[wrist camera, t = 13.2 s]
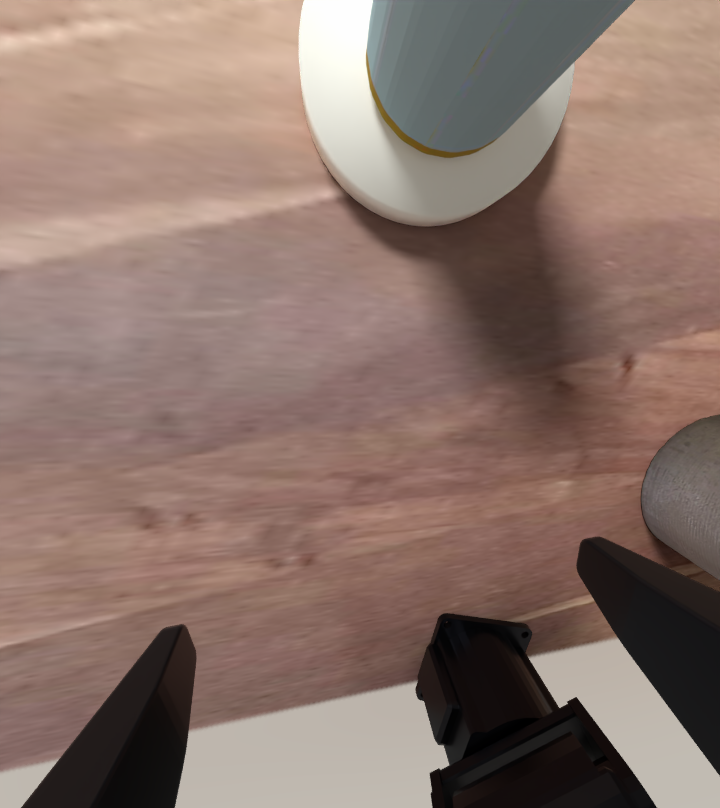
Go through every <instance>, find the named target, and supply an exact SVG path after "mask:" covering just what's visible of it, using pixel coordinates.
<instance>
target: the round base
mask: <svg viewBox="0 0 720 808" xmlns="http://www.w3.org/2000/svg"><path fill="white" fill-rule="evenodd" d="M372 3H373V0H304V3H303V7H302V12H301V20H300V29H299V65H300V78H301V90H302V99H303V107H304V111H305V116H306V120H307V125H308V128H309V131H310V133H311V136H312V139H313V142H314V144H315V146H316V148H317V151H318V153H319V155H320V157H321V159H322V161H323V162H324V164H325V165H326V167H327V168H328V170H329V172H330V173H331V175H332V176H333V177H334V178H335V180H336V181H337V182H338V183H339V184H340V186H341V187H342V188H343V189H344V190H345V191H346V192H347V193H348V194H349V195H350V196H351V197H352V198H353V199H355V200H356V201H357V202H359V203H360V204H361V205H363V206H364V207H365V208H367V209H368V210H370V211H372V212H374V213H376V214H378V215H379V216H381V217H384V218H386V219H389V220H392V221H394V222H398V223H402V224H407V225H411V226H424V227H428V226H442V225H446V224H451V223H455V222H458V221H461V220H464V219H466V218H469V217H471V216H473V215H475V214H477V213H479V212H481V211H482V210H484V209H486V208H487V207H489V206H490V205H491V204H493V203H494V202H496V201H497V200H499V199H500V198H502V197H503V196H505V195H506V194H507V193H509V192H510V191H511V190H513V189H514V188H516V187H517V186H518V185H519V184H520V183H521V182H522V181H523V180H524V179H525V178H526V177H527V176H528V175H529V174H530V173H531V172H532V171H533V170H534V168H535V167H536V166H537V165H538V164H539V162H540V161H541V160H542V158H543V157H544V155H545V154H546V152H547V150H548V149H549V147H550V146H551V144H552V142H553V140H554V138H555V136H556V134H557V132H558V130H559V128H560V125H561V123H562V120H563V117H564V114H565V112H566V109H567V105H568V101H569V97H570V93H571V89H572V82H573V75H574V64H575V62H574V63H573V64H572V65H571V66H570V67H569V68H568V69H567V70H566V71H565V72H564V73H563V74H562V75H561V76H560V77H559V78H558V79H557V80H556V81H555V82H554V83H553V84H552V85H551V86H550V87H549V88H548V89H547V90H546V91H545V92H544V93H543V94H542V95H541V96H540V97H539V98H538V99H537V100H536V101H535V102H534V103H533V104H532V105H531V106H530V107H529V108H528V110H527V111H526V112H525V113H524V114H523V115H522V116H521V117H520V118H519V119H518V120H517V121H516V122H515V123H514V124H513V125H512V126H511V127H510V128H509V129H508V130H507V131H506V132H505V133H504V134H502V135H501V136H500V137H499V138H498V139H497V140H495V141H494V142H493V143H492V144H490V145H488V146H486V147H485V148H483V149H481V150H479V151H478V152H476V153H473V154H470V155H465V156H460V157H454V158H444V157H438V156H433V155H428V154H425V153H422V152H420V151H419V150H417V149H415V148H414V147H412V146H410V145H408V144H407V143H405V142H404V141H403V140H401V139H400V138H399V137H398V136H397V135H396V134H395V132H394V131H393V130H392V129H391V128H390V127H389V125H388V124H387V123H386V122H385V120H384V119H383V117H382V116H381V114H380V112H379V109H378V107H377V105H376V103H375V101H374V98H373V96H372V93H371V90H370V86H369V80H368V74H367V67H366V49H367V40H368V31H369V21H370V15H371V9H372Z"/></svg>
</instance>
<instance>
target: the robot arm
mask: <svg viewBox="0 0 720 808" xmlns="http://www.w3.org/2000/svg"><path fill="white" fill-rule="evenodd" d="M576 566H577V571H578V574H579V576H580V578H581V579H582V581H583V582H584V584H585V586H586V587H587V589H588V591H589V592H590V594H591V595H592V597H593V599H594V600H595V602H596V603H597V605H598V607H599V608H600V610H601V612H602V613H603V615H604V616H605V618H606V620H607V621H608V623H609V624H610V626H611V628H612V629H613V631H614V632H615V634H616V635H617V637H618V638H619V640H620V641H621V643H622V644H623V646H624V647H625V648H626V650H627V651H628V653H629V654H630V655H631V657H632V658H633V659H634V661H635V662H636V663H637V665H638V666H639V667H640V669H641V670H642V672H643V673H644V674H645V675H646V677H647V678H648V680H649V681H650V682H651V684H652V685H653V686H654V688H655V689H656V690H657V692H658V693H659V694H660V696H661V697H662V698H663V700H664V701H665V703H666V704H667V705H668V707H669V708H670V709H671V711H672V712H673V713H674V715H675V716H676V717H677V719H678V720H679V721H680V723H681V724H682V725H683V727H684V728H685V729H686V731H687V732H688V733H689V735H690V736H691V738H692V739H693V740H694V742H695V743H696V744H697V746H698V747H699V748H700V750H701V751H702V752H703V754H704V755H705V756H706V758H707V759H708V761H709V762H710V763H711V764H712V766H713V767H714V769H715V770H716V771H717V773H718V774H719V775H720V592H718V591H716V590H714V589H712V588H710V587H707V586H705V585H703V584H701V583H699V582H697V581H695V580H692V579H690V578H688V577H686V576H684V575H682V574H680V573H677V572H675V571H673V570H671V569H669V568H667V567H665V566H662V565H660V564H658V563H656V562H654V561H652V560H650V559H647V558H645V557H643V556H641V555H639V554H637V553H635V552H632V551H630V550H628V549H626V548H624V547H622V546H620V545H617V544H615V543H613V542H611V541H609V540H607V539H605V538H602V537H592V538H587V539H584V540H582V541H581V543H580V547H579V553H578V559H577V565H576ZM445 622H447V623H445ZM531 636H532V631H531V630H530V628H529V627H528V626H527V625H526V624H522V623H515V622H507V621H500V620H493V619H485V618H478V617H470V616H463V615H455V614H448V613H446V614H442V615H441V616H440V617H439V618H438V621H437V624H436V627H435V630H434V633H433V636H432V640H431V643H430V644H429V645H428V647H427V649H426V652H425V655H424V658H423V661H422V664H421V668H420V671H419V674H418V683H417V686H416V694H417V697H418V699H419V700H422V701H424V702H425V706H426V709H427V713H428V717H429V721H430V724H431V728H432V731H433V735H434V739H435V741H436V742H437V744H438V745H444V748H445V751H446V754H447V758H448V761H449V766H448V767H446V768H444V769H442V770H440V769H437V770H435V771H433V772H431V773H430V779H431V786H432V793H431V799H432V806H433V808H657V807H656V806H655V804H654V803H653V801H652V800H651V798H650V797H649V795H648V794H647V792H646V791H645V789H644V788H643V786H642V785H641V783H640V782H639V780H638V779H637V777H636V776H635V775H634V774H633V772H632V770H631V769H630V768H629V766H628V765H627V764H626V762H625V761H624V760H623V758H622V757H621V756H620V754H619V753H618V752H617V750H616V749H615V748H614V747H613V745H612V744H611V742H610V741H609V740H608V738H607V737H606V736H605V735H604V733H603V732H602V730H601V729H600V728H599V726H598V725H597V724H596V722H595V721H594V720H593V718H592V717H591V716H590V715H589V713H588V712H587V711H586V709H585V708H584V707H583V705H582V704H581V703H580V701H579V700H578V699H577V697H575V698H573V699H571V700H570V701H568V702H567V703H568V704H567V705H565V706H563V707H561V708H559V707H558V705H557V704H556V702H555V700H554V699H553V697H552V695H551V694H550V692H549V691H548V689H547V687H546V686H545V684H544V683H543V681H542V679H541V678H540V676H539V674H538V673H537V671H536V670H535V668H534V666H533V665H532V663H531V662H530V660H529V658H528V657H527V655H526V653H525V652H526V649H527V647H528V644H529V642H530V639H531ZM195 668H196V650H195V647H194V644H193V642H192V639H191V637H190V634H189V632H188V629H187V627H186V626H185V625H184V624H180V625H175V626H170V627H166V628H164V629H163V630H161V631H160V632H159V634H158V635H157V636H156V637H155V639H154V640H153V641H152V643H151V644H150V645H149V646H148V648H147V649H146V650H145V651H144V653H143V654H142V655H141V656H140V658H139V659H138V660H137V662H136V663H135V664H134V665H133V667H132V668H131V669H130V670H129V672H128V673H127V674H126V675H125V677H124V678H123V679H122V681H121V682H120V683H119V684H118V686H117V687H116V688H115V689H114V691H113V692H112V693H111V694H110V696H109V697H108V698H107V700H106V701H105V702H104V703H103V705H102V706H101V707H100V708H99V710H98V711H97V712H96V713H95V715H94V716H93V717H92V719H91V720H90V721H89V722H88V724H87V725H86V726H85V727H84V729H83V730H82V731H81V732H80V734H79V735H78V736H77V738H76V739H75V740H74V741H73V743H72V744H71V745H70V746H69V748H68V749H67V750H66V751H65V753H64V754H63V755H62V757H61V758H60V759H59V760H58V762H57V763H56V764H55V765H54V767H53V768H52V769H51V770H50V772H49V773H48V774H47V776H46V777H45V778H44V779H43V781H42V782H41V783H40V784H39V786H38V787H37V789H35V791H34V792H33V793H32V795H31V796H30V797H29V798H28V800H27V801H26V802H25V803H24V805H23V806H22V807H21V808H175V804H176V799H177V794H178V789H179V784H180V779H181V774H182V770H183V764H184V758H185V754H186V747H187V739H188V731H189V722H190V713H191V704H192V695H193V686H194V677H195Z"/></svg>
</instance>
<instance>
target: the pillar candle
mask: <svg viewBox="0 0 720 808" xmlns="http://www.w3.org/2000/svg"><path fill="white" fill-rule="evenodd" d="M641 493H642V495H641V505H642V512H643V516H644V519H645V521H646V524H647V526H648V527H649V529H650V530H651V532H652V533H653V534H654V535H655V536H656V537H657V538H658V539H659V540H661V541H662V542H664V543H665V544H666V545H668V546H669V547H671V548H672V549H674V550H675V551H677V552H678V553H680V554H681V555H683V556H684V557H686V558H687V559H689V560H690V561H692V562H693V563H694V564H696V565H697V566H699V567H701V568H702V569H703V570H705V571H706V572H708V573H709V574H711V575H712V576H714V577H715V578H717V579H718V580H720V415H715V416H710V417H708V418H702V419H700V420H698V421H696V422H694V423H692V424H690V425H688V426H686V427H685V428H683V429H682V430H680V431H679V432H678V433H676V434H675V435H674V436H673V437H672V438H671V439H669V440H668V442H667V443H666V444H665V446H663V447H662V448H661V449H660V450H659V451H658V453H657V454H656V455H655V457H654V458H653V460H652V462H651V465H650V466H649V468H648V470H647V473H646V477H645V479H644V482H643V487H642V492H641Z"/></svg>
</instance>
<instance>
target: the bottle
mask: <svg viewBox="0 0 720 808" xmlns="http://www.w3.org/2000/svg"><path fill="white" fill-rule="evenodd" d="M634 1H635V0H373V3H372V9H371V15H370V21H369V31H368V40H367V49H366V67H367V74H368V80H369V86H370V90H371V93H372V96H373V98H374V101H375V103H376V105H377V107H378V109H379V112H380V114H381V116H382V117H383V119H384V120H385V122H386V123H387V124H388V125H389V127H390V128H391V129H392V130H393V131H394V132H395V134H396V135H397V136H398V137H399V138H400V139H401V140H403V141H404V142H405V143H407V144H408V145H410V146H412V147H414V148H415V149H417V150H419V151H420V152H422V153H425V154H428V155H433V156H438V157H444V158H454V157H460V156H465V155H470V154H473V153H476V152H478V151H479V150H481V149H483V148H485V147H486V146H488V145H490V144H492V143H493V142H494V141H495V140H497V139H498V138H499V137H500V136H501V135H502V134H504V133H505V132H506V131H507V130H508V129H509V128H510V127H511V126H512V125H513V124H514V123H515V122H516V121H517V120H518V119H519V118H520V117H521V116H522V115H523V114H524V113H525V112H526V111H527V110H528V108H529V107H530V106H531V105H532V104H533V103H534V102H535V101H536V100H537V99H538V98H539V97H540V96H541V95H542V94H543V93H544V92H545V91H546V90H547V89H548V88H549V87H550V86H551V85H552V84H553V83H554V82H555V81H556V80H557V79H558V78H559V77H560V76H561V75H562V74H563V73H564V72H565V71H566V70H567V69H568V68H569V67H570V66H571V65H572V64H573V63H574V62H575V61H576V60H577V59H578V58H579V57H580V56H581V55H582V54H583V53H584V52H585V51H586V50H587V49H588V48H589V47H590V46H591V45H592V43H593V42H594V41H595V40H596V39H597V38H598V37H599V36H600V35H601V34H602V33H603V32H604V31H605V30H606V29H607V28H608V27H609V26H610V25H611V24H612V23H613V22H614V21H615V20H616V19H617V18H618V17H619V16H620V15H621V14H622V13H623V12H624V11H625V10H626V9H627V8H628V7H629V6H630V5H631V4H632V3H633V2H634Z"/></svg>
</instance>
